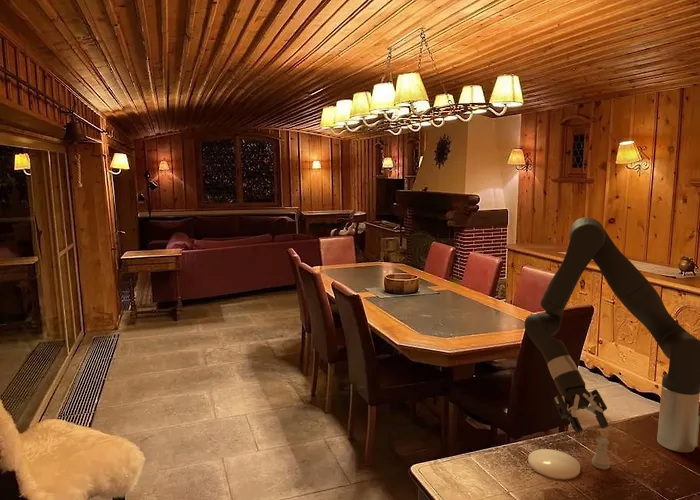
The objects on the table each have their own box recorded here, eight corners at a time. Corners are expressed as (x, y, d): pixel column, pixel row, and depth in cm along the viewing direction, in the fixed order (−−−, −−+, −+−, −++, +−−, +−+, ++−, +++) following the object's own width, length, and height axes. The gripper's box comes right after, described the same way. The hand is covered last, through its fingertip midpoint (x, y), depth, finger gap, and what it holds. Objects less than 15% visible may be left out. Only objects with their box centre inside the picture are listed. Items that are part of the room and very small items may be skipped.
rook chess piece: (612, 471, 134) (614, 442, 132) (594, 469, 134) (596, 441, 133) (607, 462, 138) (609, 434, 137) (589, 460, 139) (591, 432, 138)
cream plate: (557, 449, 144) (557, 446, 144) (591, 474, 132) (591, 470, 132) (518, 456, 141) (518, 453, 140) (550, 483, 128) (550, 479, 128)
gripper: (552, 372, 143) (579, 429, 133) (592, 366, 147) (621, 421, 138) (538, 382, 148) (563, 438, 139) (578, 377, 153) (605, 430, 143)
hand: (592, 429), depth 138 cm, fingers open, 8 cm apart
